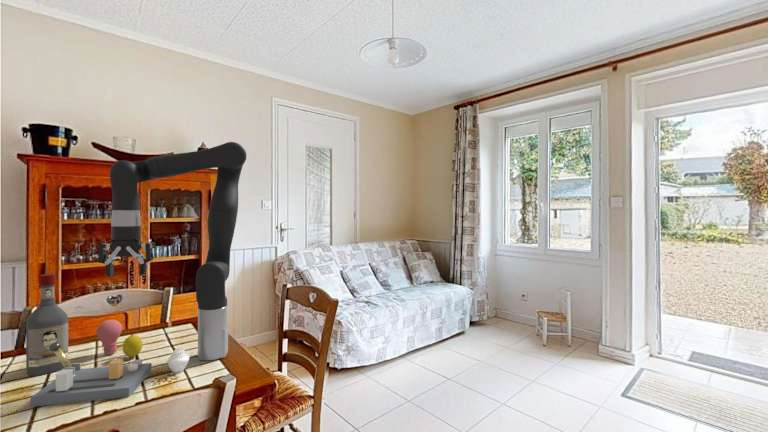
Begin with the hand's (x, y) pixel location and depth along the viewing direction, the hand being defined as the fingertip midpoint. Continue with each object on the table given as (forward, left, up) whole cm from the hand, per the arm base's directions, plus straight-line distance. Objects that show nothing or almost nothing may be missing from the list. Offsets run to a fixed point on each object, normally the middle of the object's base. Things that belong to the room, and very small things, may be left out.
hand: (126, 275), depth 111 cm
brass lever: (+13, +4, -26) cm, 30 cm away
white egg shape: (-16, +4, -30) cm, 34 cm away
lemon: (+2, -10, -30) cm, 32 cm away
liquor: (+24, -6, -30) cm, 39 cm away
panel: (+3, +10, -30) cm, 32 cm away
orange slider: (-2, +11, -27) cm, 29 cm away
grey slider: (+8, +16, -27) cm, 32 cm away
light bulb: (+11, -15, -30) cm, 36 cm away
